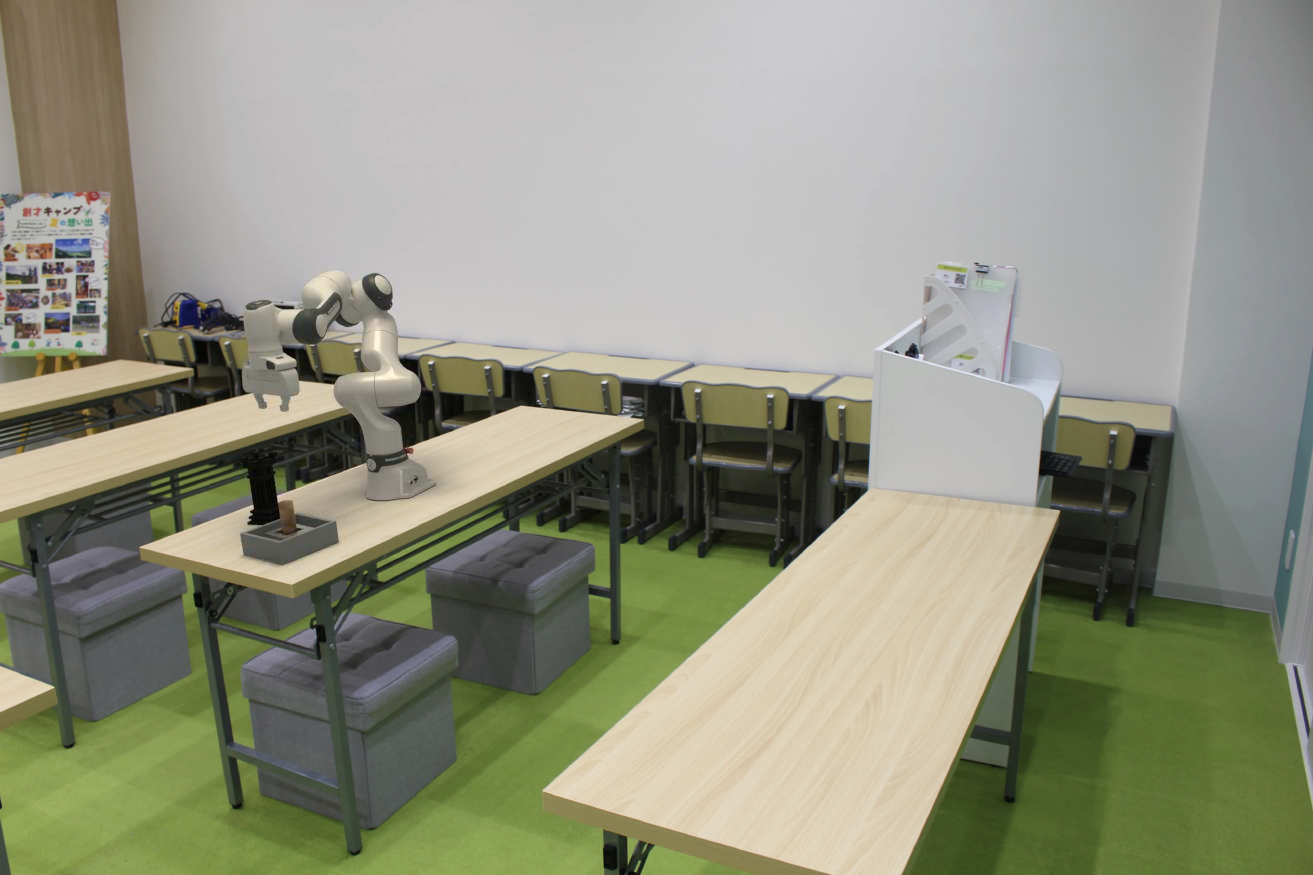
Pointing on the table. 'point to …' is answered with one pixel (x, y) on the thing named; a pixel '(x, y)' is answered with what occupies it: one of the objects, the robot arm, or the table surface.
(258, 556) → the open box
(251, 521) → the chess piece
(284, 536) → the grey square frame
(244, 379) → the robot arm
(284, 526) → the peg
